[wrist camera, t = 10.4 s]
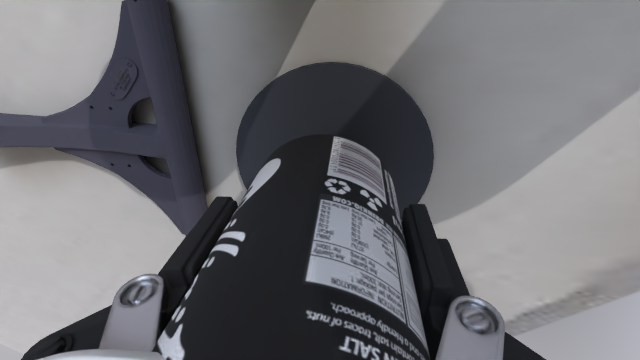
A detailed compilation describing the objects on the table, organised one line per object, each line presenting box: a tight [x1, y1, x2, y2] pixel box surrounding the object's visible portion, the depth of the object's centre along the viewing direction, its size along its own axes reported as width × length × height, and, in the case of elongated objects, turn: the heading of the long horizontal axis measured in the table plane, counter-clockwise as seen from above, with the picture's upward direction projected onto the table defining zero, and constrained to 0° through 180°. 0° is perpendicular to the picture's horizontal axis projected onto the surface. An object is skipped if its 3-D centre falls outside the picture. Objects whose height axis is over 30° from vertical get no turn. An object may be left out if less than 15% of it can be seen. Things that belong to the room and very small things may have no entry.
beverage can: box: [151, 134, 430, 360], centre depth 10 cm, size 7×7×12 cm
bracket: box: [0, 0, 208, 236], centre depth 17 cm, size 14×15×3 cm
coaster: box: [236, 62, 434, 220], centre depth 17 cm, size 11×11×1 cm
